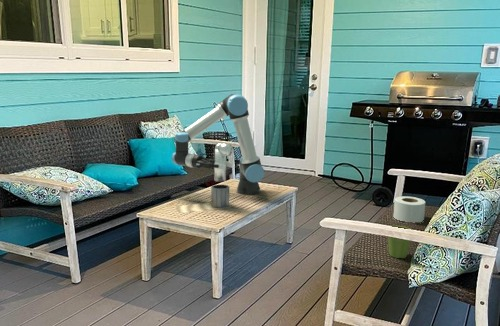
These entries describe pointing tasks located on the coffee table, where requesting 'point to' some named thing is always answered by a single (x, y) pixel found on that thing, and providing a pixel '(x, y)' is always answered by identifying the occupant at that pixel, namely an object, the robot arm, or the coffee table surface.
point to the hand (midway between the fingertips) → (227, 165)
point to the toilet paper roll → (409, 209)
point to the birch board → (195, 207)
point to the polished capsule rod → (222, 160)
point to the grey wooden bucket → (220, 196)
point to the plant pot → (398, 246)
